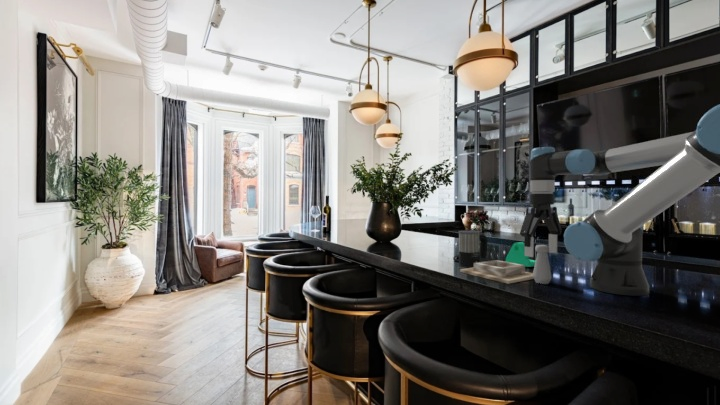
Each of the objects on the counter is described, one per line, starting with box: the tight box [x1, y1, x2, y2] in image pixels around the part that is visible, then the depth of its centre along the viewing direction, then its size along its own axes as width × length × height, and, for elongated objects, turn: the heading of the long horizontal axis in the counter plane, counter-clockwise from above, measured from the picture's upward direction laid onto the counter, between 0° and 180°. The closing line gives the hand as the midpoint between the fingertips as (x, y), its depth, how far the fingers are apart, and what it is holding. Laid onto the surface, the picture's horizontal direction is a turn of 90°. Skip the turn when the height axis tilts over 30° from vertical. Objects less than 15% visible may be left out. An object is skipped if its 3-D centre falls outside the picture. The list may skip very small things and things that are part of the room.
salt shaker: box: [532, 244, 552, 285], centre depth 122 cm, size 6×6×13 cm
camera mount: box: [505, 241, 536, 268], centre depth 151 cm, size 12×8×10 cm, turn 23°
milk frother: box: [452, 230, 488, 268], centre depth 156 cm, size 14×16×15 cm
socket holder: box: [459, 259, 534, 285], centre depth 134 cm, size 22×18×4 cm
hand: (541, 254), depth 122 cm, fingers open, 13 cm apart
